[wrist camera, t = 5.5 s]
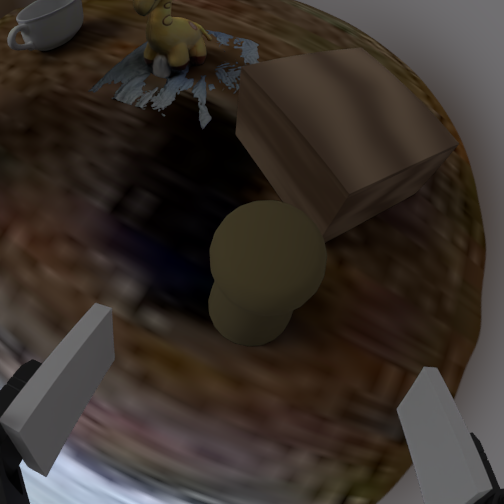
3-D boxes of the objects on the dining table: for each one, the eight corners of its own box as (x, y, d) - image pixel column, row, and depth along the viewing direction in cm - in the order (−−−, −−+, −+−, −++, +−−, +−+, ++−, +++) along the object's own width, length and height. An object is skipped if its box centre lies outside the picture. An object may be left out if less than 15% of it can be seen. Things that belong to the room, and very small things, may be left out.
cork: (194, 326, 22) (171, 279, 12) (227, 252, 24) (233, 160, 14) (275, 359, 22) (322, 339, 11) (303, 282, 24) (359, 209, 14)
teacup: (67, 21, 38) (58, -13, 31) (101, 27, 37) (93, -13, 29) (5, 66, 33) (-10, 31, 26) (31, 76, 32) (14, 34, 24)
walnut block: (313, 248, 25) (349, 194, 18) (235, 134, 29) (240, 66, 21) (416, 193, 28) (458, 143, 21) (339, 103, 32) (361, 47, 25)
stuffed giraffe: (87, 93, 30) (63, -25, 16) (175, 28, 38) (179, -65, 23) (202, 135, 29) (211, -19, 15) (275, 57, 37) (301, -46, 22)
